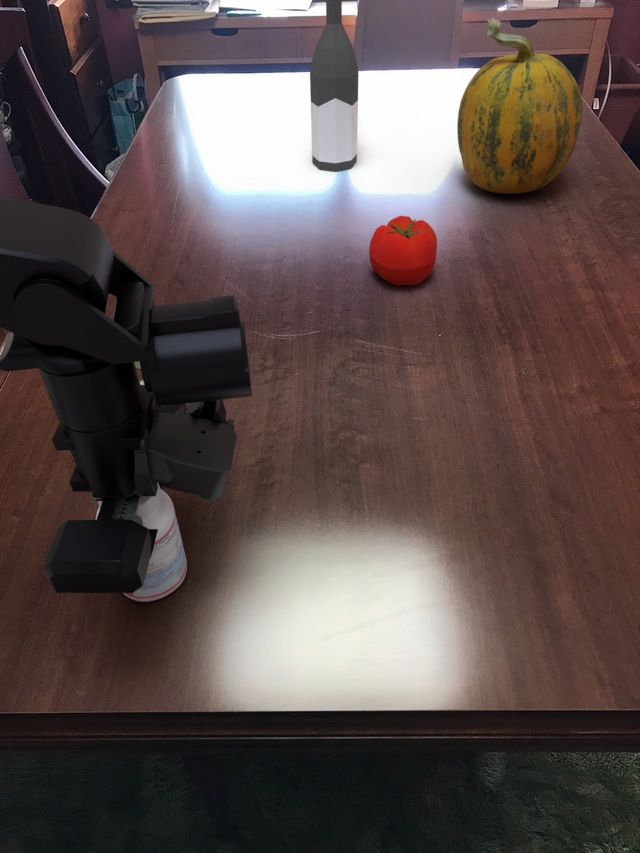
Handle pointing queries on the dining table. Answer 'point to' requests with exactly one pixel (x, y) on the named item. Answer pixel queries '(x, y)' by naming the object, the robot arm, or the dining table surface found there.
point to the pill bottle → (160, 548)
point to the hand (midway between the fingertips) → (147, 546)
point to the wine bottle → (334, 95)
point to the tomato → (403, 251)
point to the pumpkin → (518, 118)
